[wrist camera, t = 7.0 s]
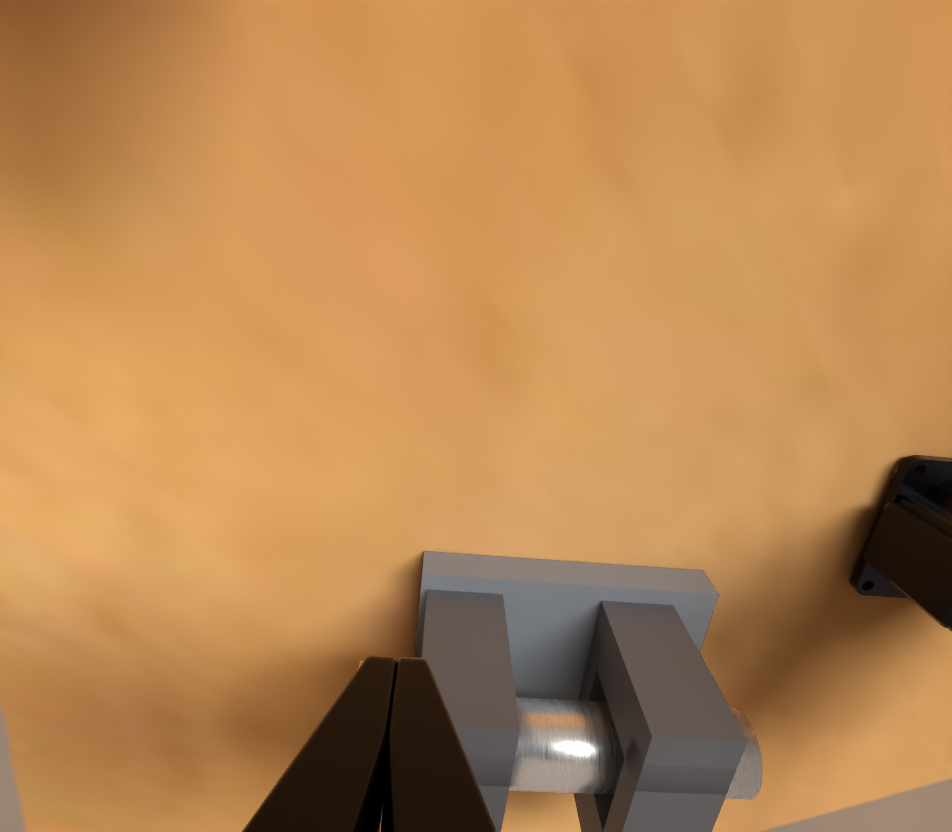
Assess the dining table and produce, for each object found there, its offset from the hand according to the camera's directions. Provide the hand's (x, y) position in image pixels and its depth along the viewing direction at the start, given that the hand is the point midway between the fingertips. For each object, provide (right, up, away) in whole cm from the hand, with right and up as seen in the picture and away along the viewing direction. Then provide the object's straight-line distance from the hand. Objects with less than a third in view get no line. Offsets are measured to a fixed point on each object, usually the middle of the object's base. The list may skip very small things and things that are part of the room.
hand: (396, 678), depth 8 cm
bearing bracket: (+4, -7, +17) cm, 19 cm away
